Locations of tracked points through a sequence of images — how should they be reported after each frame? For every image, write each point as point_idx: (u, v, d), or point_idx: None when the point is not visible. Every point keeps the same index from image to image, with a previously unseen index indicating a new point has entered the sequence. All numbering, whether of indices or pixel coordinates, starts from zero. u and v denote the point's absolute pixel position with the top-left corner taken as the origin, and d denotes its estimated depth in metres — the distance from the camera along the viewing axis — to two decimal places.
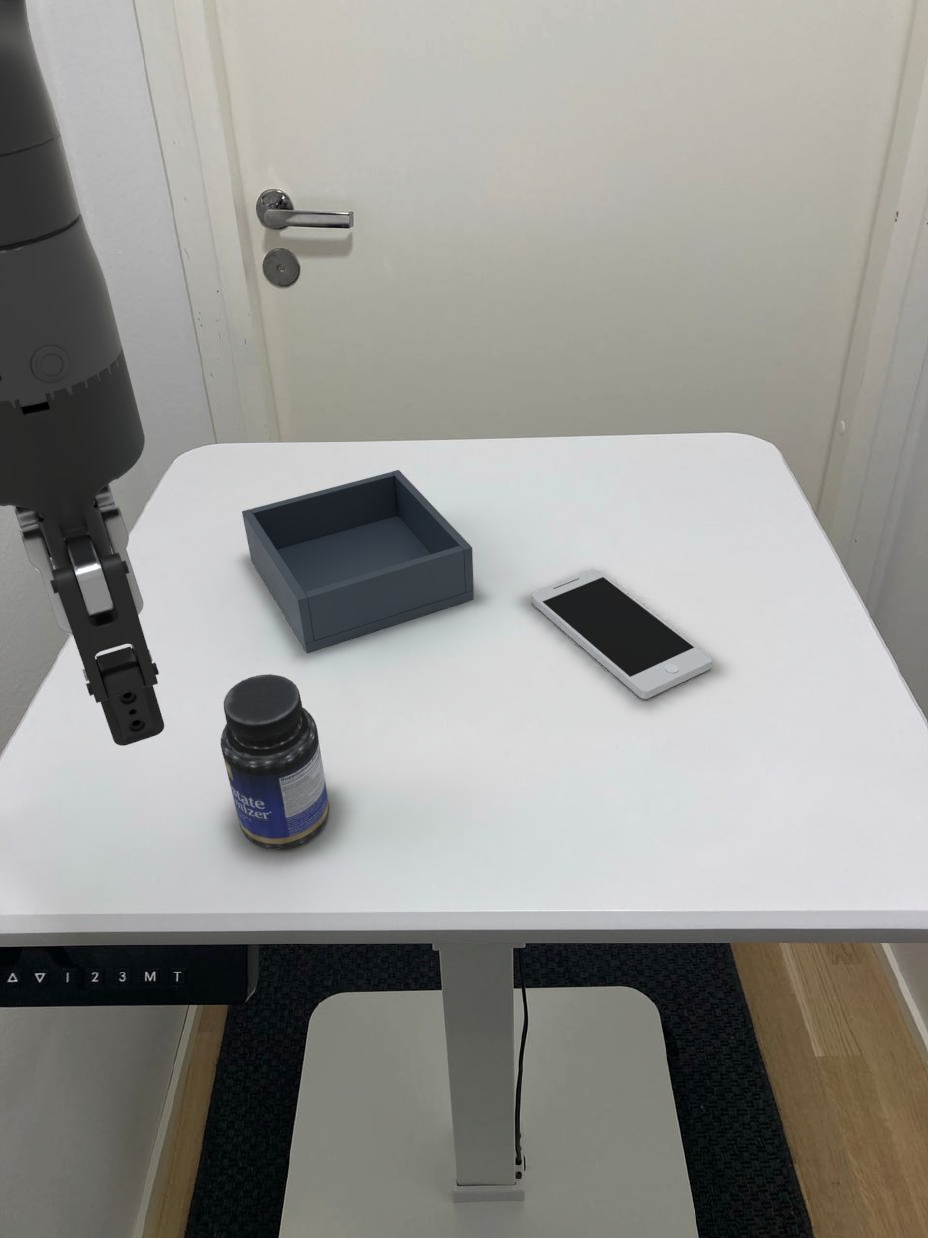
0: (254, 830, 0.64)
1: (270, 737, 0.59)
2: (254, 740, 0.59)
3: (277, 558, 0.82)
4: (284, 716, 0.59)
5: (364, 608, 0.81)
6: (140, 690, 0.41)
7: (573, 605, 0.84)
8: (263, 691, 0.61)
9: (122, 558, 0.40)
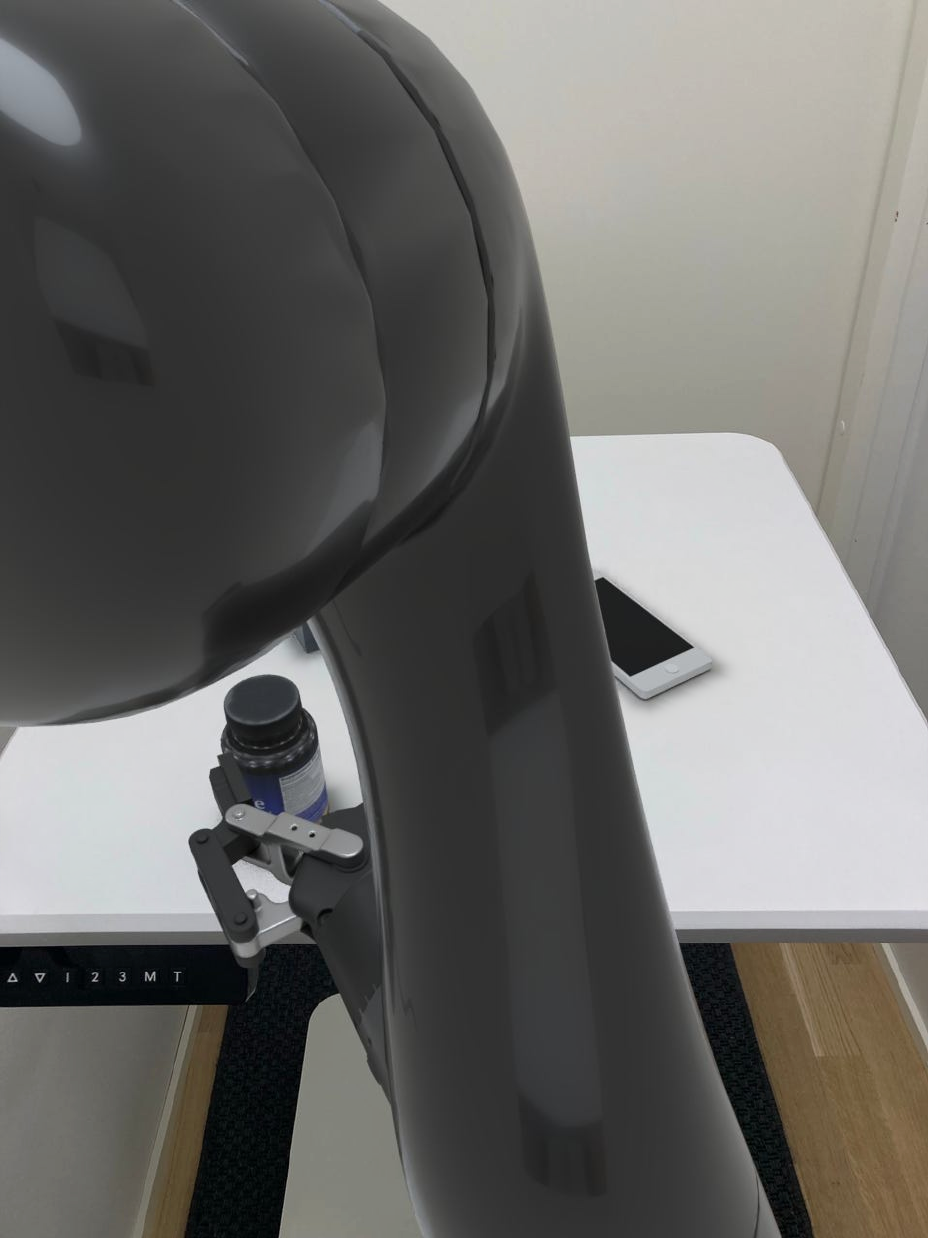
0: None
1: (270, 737, 0.59)
2: (254, 740, 0.59)
3: None
4: (284, 716, 0.59)
5: None
6: None
7: None
8: (263, 691, 0.61)
9: None
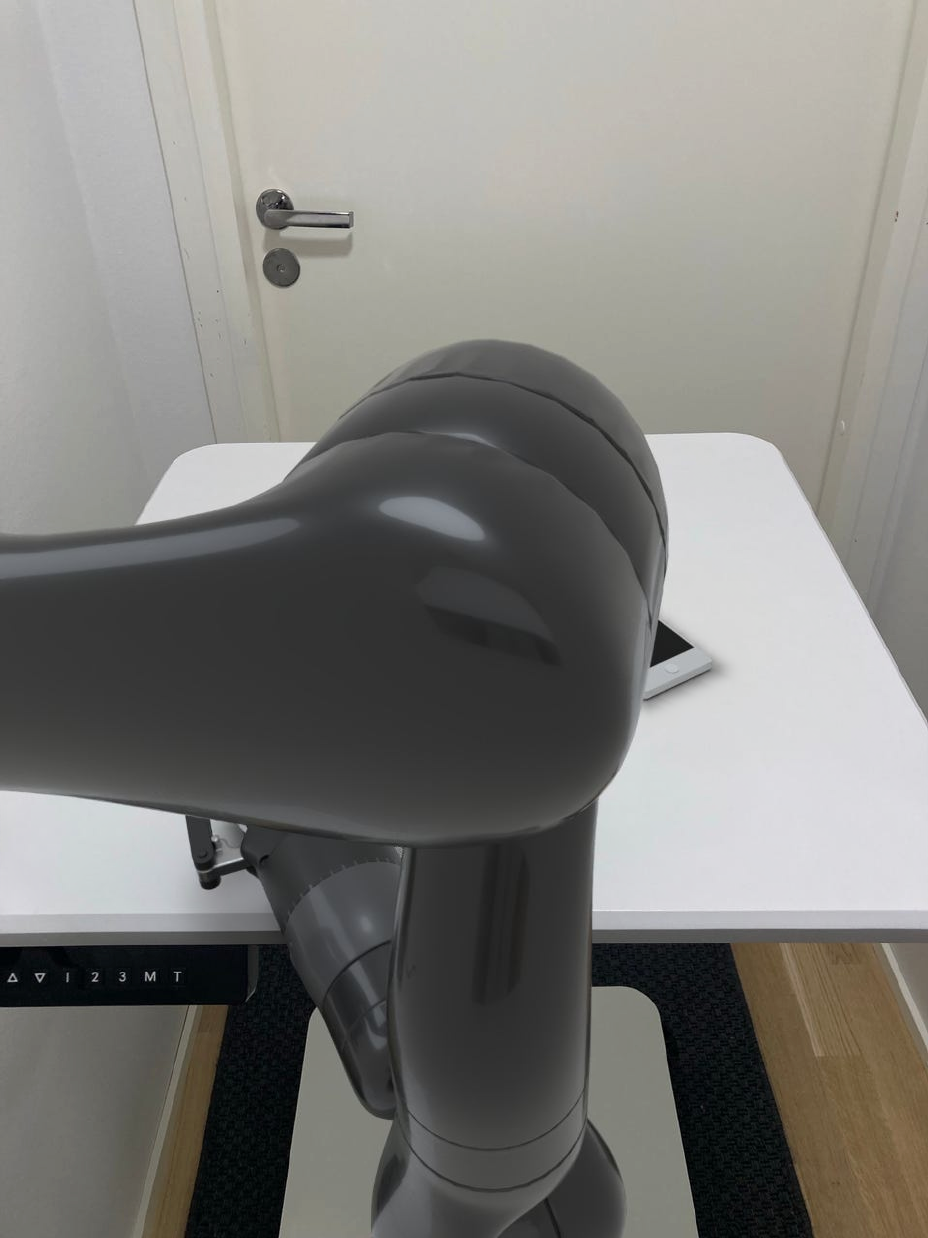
0: None
1: None
2: None
3: None
4: None
5: None
6: None
7: None
8: None
9: None
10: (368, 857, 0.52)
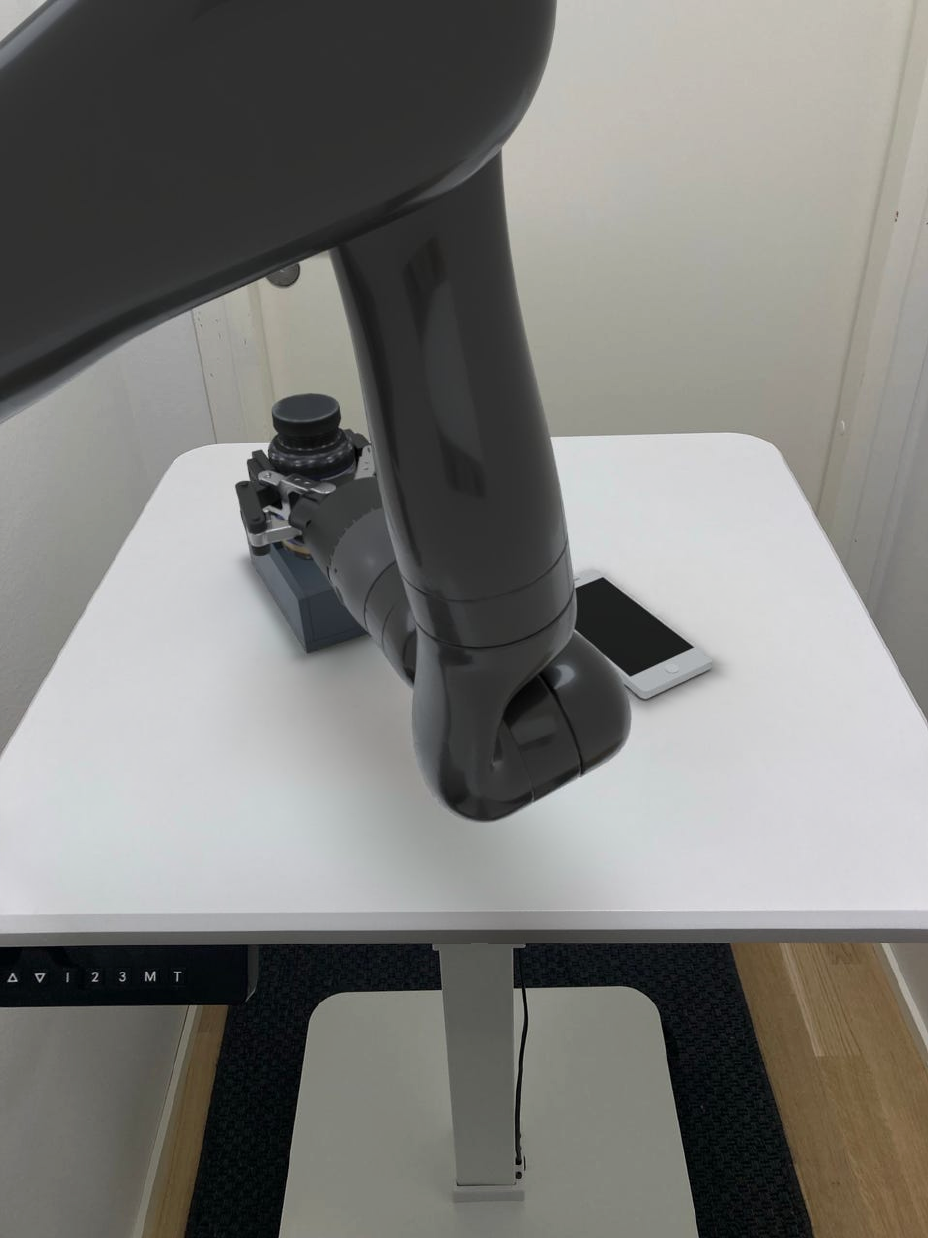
0: None
1: (313, 437, 0.66)
2: (299, 441, 0.66)
3: (277, 558, 0.82)
4: (326, 417, 0.66)
5: None
6: None
7: None
8: (306, 402, 0.68)
9: None
10: None
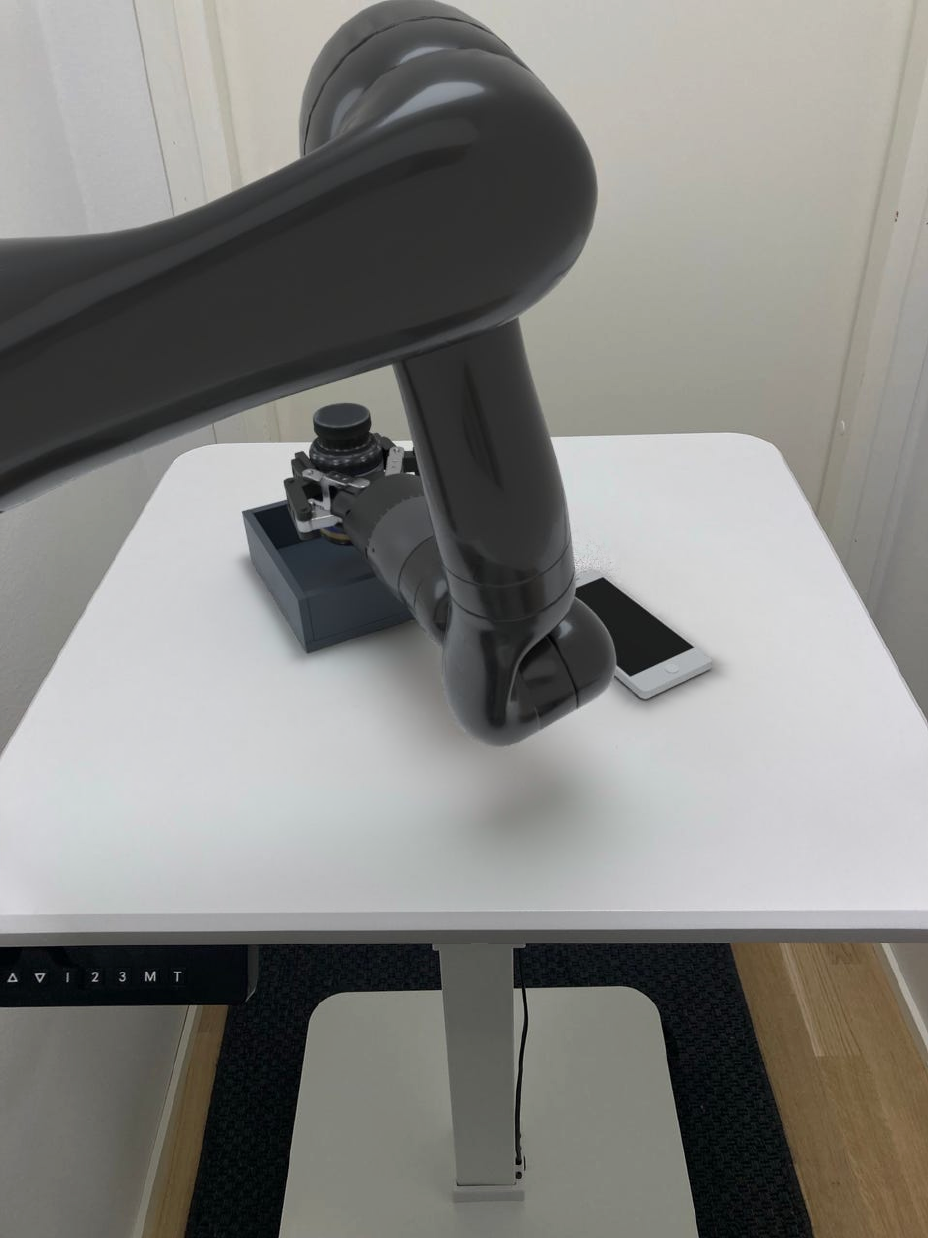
0: (333, 528, 0.83)
1: (349, 440, 0.78)
2: (336, 443, 0.79)
3: (277, 558, 0.82)
4: (360, 423, 0.78)
5: (364, 608, 0.81)
6: None
7: None
8: (342, 411, 0.80)
9: None
10: None
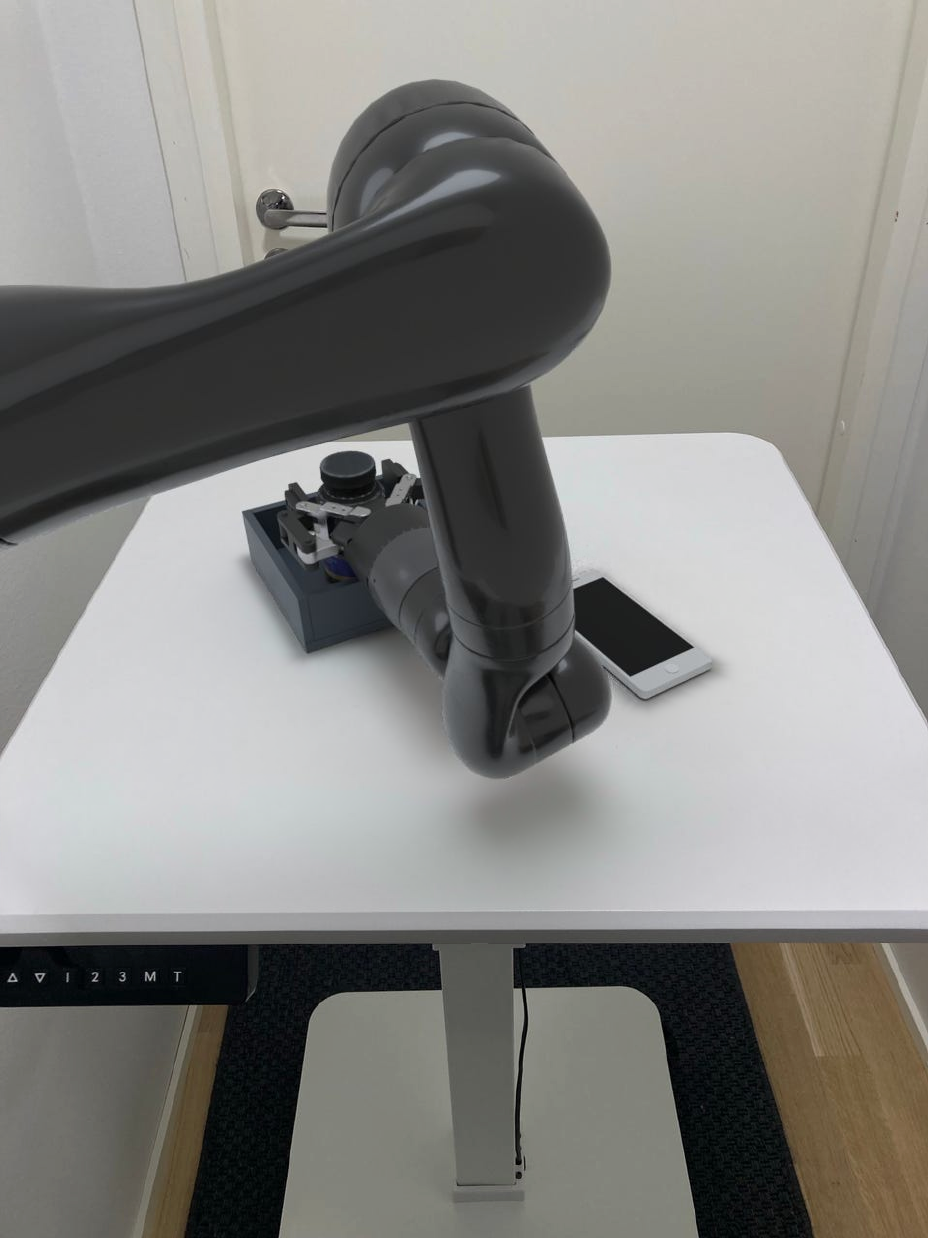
0: (338, 571, 0.85)
1: (354, 488, 0.81)
2: (342, 491, 0.81)
3: (277, 558, 0.82)
4: (365, 472, 0.81)
5: (364, 608, 0.81)
6: None
7: None
8: (348, 459, 0.82)
9: None
10: (429, 525, 0.72)
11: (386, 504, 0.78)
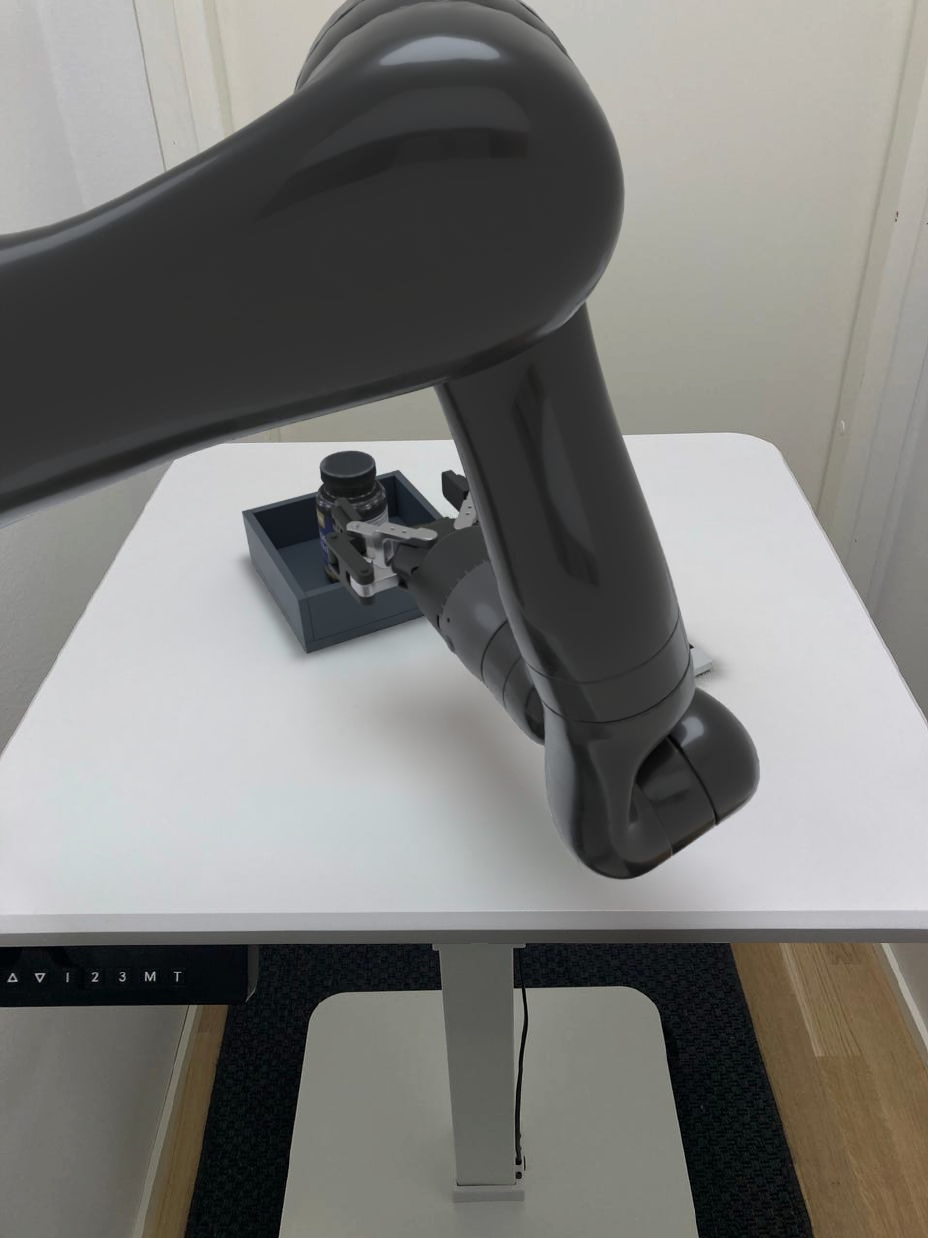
0: None
1: (355, 488, 0.81)
2: (342, 491, 0.81)
3: (277, 558, 0.82)
4: (365, 472, 0.81)
5: (364, 608, 0.81)
6: None
7: None
8: (348, 459, 0.82)
9: None
10: None
11: (455, 525, 0.65)
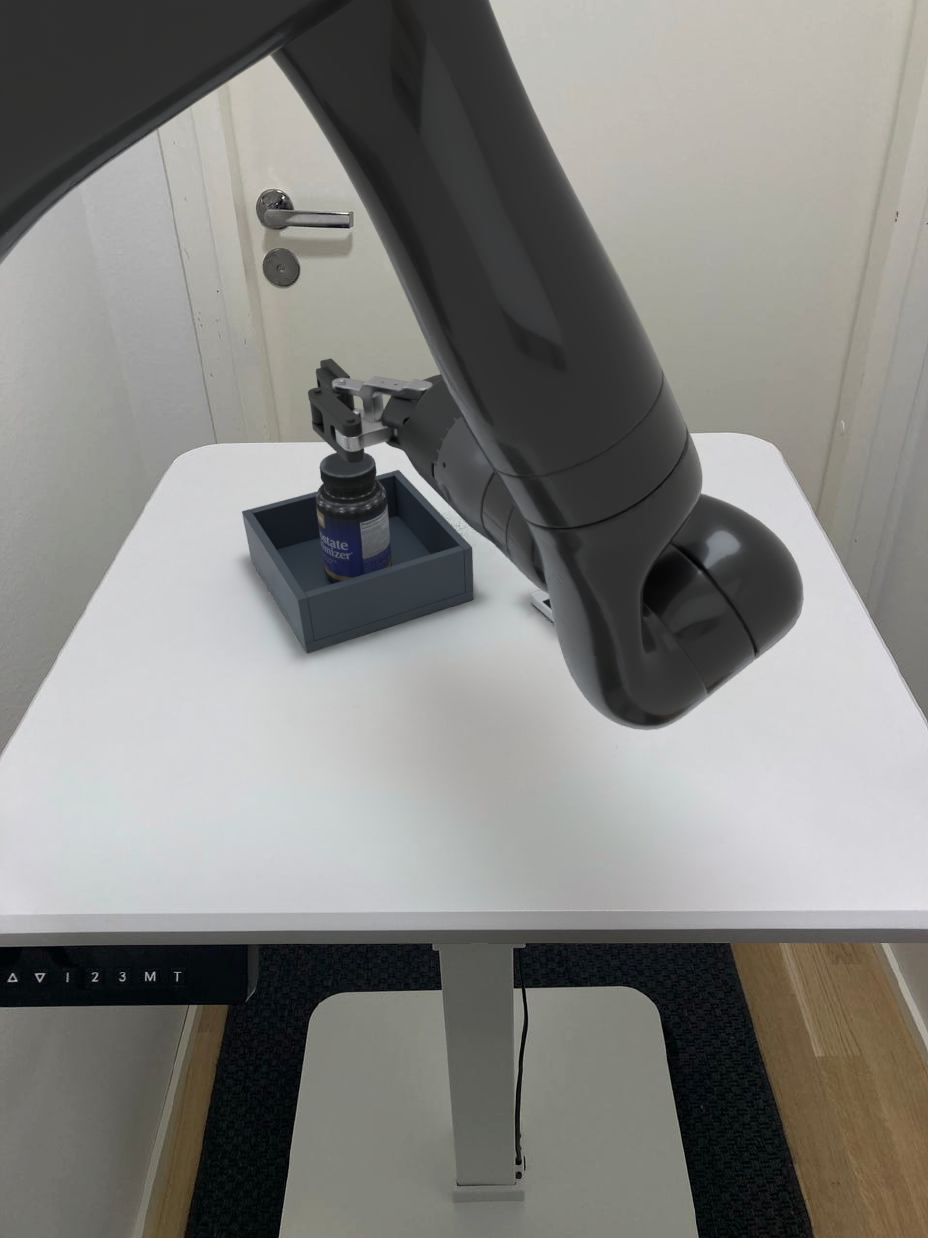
0: (338, 571, 0.85)
1: (355, 488, 0.81)
2: (342, 491, 0.81)
3: (277, 558, 0.82)
4: (365, 472, 0.81)
5: (364, 608, 0.81)
6: None
7: None
8: None
9: None
10: None
11: None
